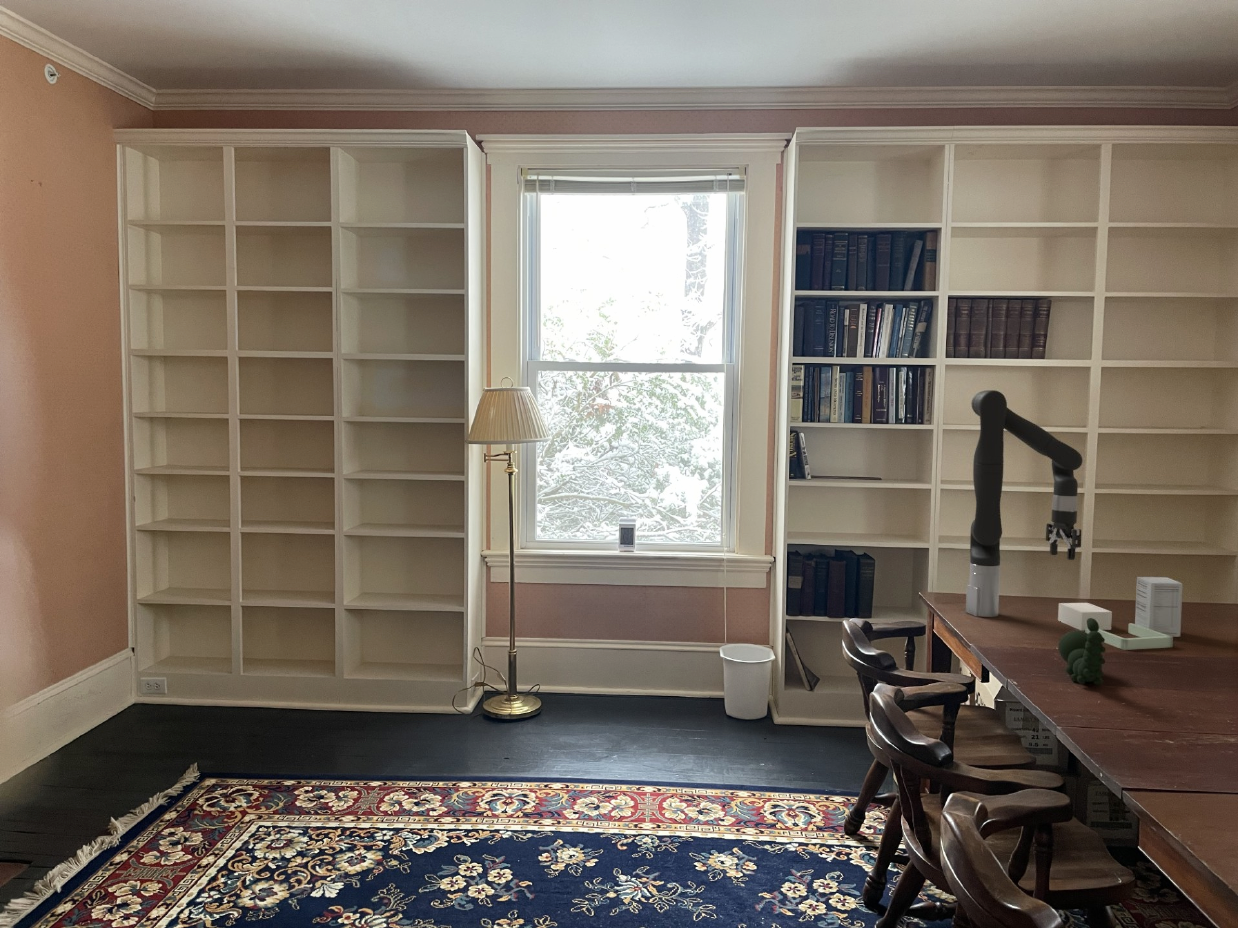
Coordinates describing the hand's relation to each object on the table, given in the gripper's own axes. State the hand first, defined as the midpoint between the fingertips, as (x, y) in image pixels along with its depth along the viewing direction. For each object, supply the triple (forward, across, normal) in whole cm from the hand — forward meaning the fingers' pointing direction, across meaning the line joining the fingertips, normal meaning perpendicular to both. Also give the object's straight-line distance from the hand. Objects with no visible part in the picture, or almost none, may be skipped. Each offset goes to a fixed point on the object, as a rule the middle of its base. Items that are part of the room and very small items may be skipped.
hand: (1062, 557), depth 285 cm
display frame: (+20, +30, 0) cm, 36 cm away
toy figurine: (+20, +58, -38) cm, 72 cm away
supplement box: (+20, +24, +16) cm, 35 cm away
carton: (+20, +12, 0) cm, 23 cm away
